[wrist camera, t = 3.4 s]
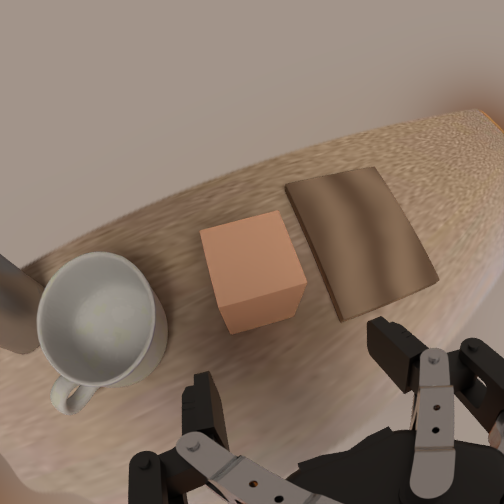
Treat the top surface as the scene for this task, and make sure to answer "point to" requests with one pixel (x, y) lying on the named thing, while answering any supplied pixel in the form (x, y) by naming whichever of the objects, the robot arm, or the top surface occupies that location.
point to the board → (360, 240)
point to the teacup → (99, 327)
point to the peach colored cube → (253, 271)
